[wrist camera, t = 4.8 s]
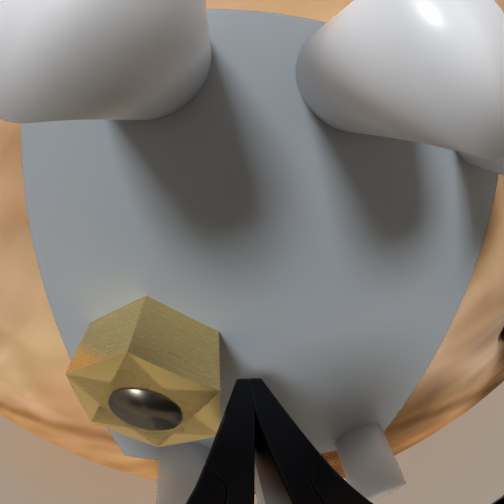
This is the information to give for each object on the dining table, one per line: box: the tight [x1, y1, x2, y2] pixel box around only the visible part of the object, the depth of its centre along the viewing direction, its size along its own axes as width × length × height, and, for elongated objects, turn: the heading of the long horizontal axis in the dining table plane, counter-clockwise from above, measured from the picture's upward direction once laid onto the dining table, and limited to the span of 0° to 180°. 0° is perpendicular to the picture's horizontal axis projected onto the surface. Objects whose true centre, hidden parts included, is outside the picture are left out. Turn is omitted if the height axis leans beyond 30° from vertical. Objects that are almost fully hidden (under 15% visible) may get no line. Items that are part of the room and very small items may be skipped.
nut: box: [66, 295, 220, 447], centre depth 8 cm, size 4×5×2 cm
